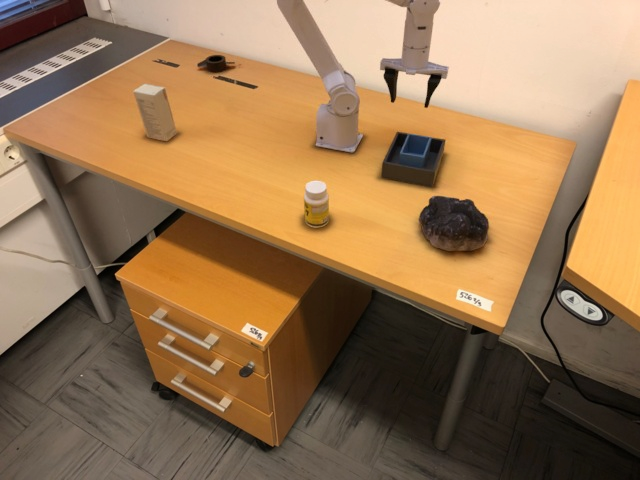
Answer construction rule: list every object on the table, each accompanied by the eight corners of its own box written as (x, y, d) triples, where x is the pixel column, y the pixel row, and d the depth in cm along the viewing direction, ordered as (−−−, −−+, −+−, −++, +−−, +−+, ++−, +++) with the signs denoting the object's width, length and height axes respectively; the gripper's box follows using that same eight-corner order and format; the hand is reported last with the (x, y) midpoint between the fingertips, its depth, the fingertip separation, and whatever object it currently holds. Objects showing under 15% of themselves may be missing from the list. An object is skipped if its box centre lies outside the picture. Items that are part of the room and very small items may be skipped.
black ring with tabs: (211, 60, 158) (209, 51, 156) (238, 66, 154) (236, 57, 153) (195, 70, 153) (193, 60, 151) (223, 76, 150) (221, 67, 148)
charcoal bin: (381, 177, 112) (382, 162, 109) (395, 146, 121) (396, 131, 118) (432, 187, 109) (435, 172, 106) (443, 154, 118) (445, 139, 116)
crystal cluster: (441, 204, 106) (442, 164, 99) (504, 226, 99) (510, 185, 92) (405, 242, 99) (404, 202, 93) (470, 269, 92) (474, 228, 85)
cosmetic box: (177, 133, 127) (166, 87, 118) (166, 142, 124) (155, 95, 116) (156, 128, 129) (144, 82, 120) (145, 136, 126) (132, 90, 118)
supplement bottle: (304, 213, 104) (302, 179, 98) (327, 212, 104) (327, 178, 98) (305, 229, 100) (304, 195, 94) (329, 227, 100) (329, 193, 95)
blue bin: (421, 176, 111) (424, 157, 108) (397, 172, 113) (399, 153, 109) (428, 156, 117) (431, 137, 114) (406, 152, 118) (408, 133, 115)
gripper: (378, 46, 107) (374, 106, 116) (448, 55, 103) (438, 116, 112) (386, 34, 112) (382, 92, 121) (453, 42, 108) (444, 101, 117)
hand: (409, 103), depth 117 cm, fingers open, 7 cm apart
